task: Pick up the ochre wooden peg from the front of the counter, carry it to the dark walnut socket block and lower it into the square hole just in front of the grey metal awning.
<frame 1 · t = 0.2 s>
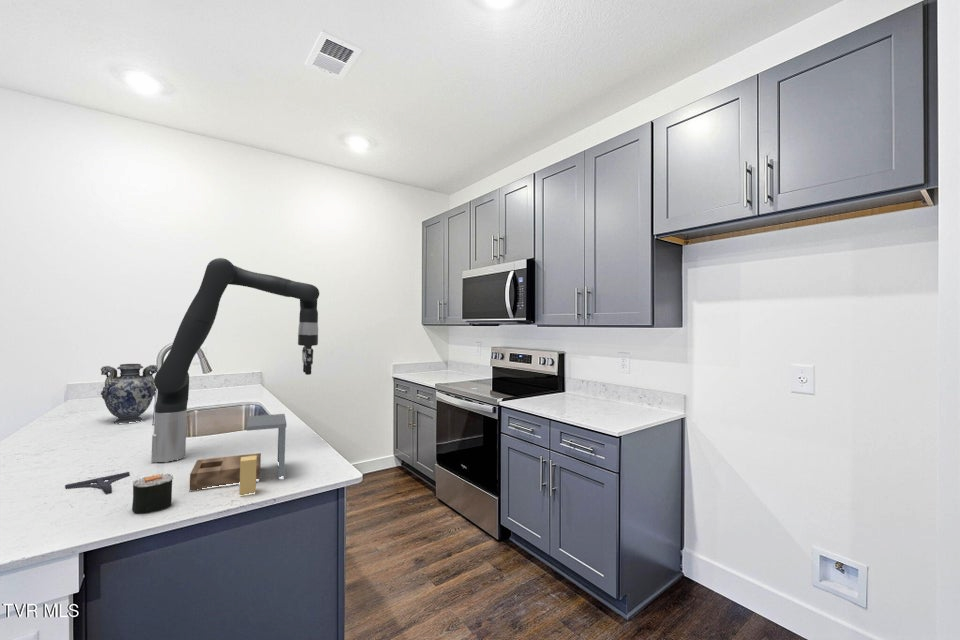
hand: (307, 373, 168), 29 cm above the counter, tool pointing down, fingers open, 8 cm apart
decorative vase: (128, 422, 200), on the counter
peg: (247, 493, 119), on the counter
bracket: (102, 490, 121), on the counter
awning: (263, 474, 134), on the counter
socket block: (227, 478, 130), on the counter
sushi: (152, 507, 109), on the counter
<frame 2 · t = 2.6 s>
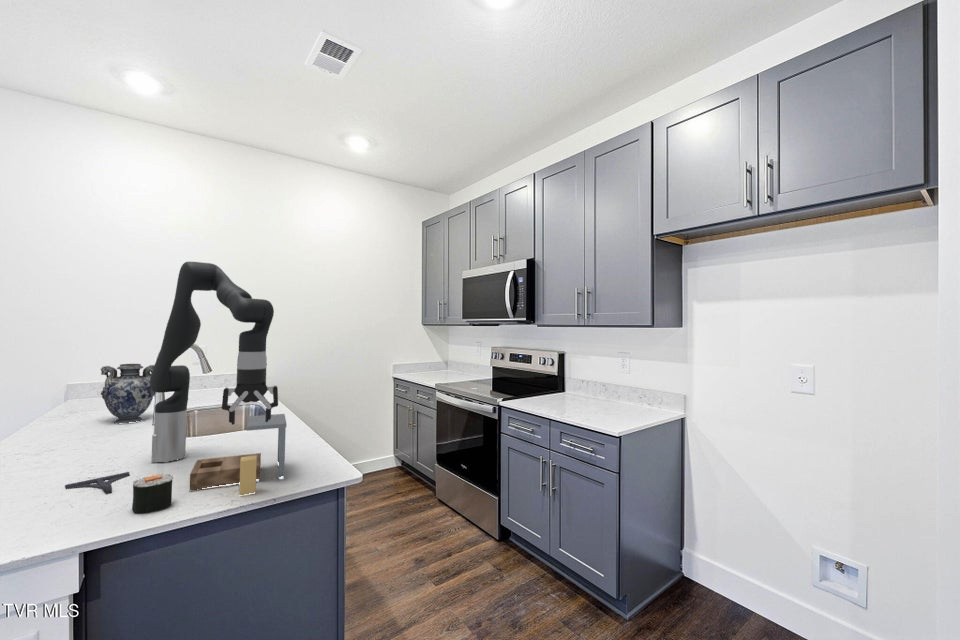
hand: (250, 422, 120), 20 cm above the counter, tool pointing down, fingers open, 8 cm apart
nothing on the counter moved.
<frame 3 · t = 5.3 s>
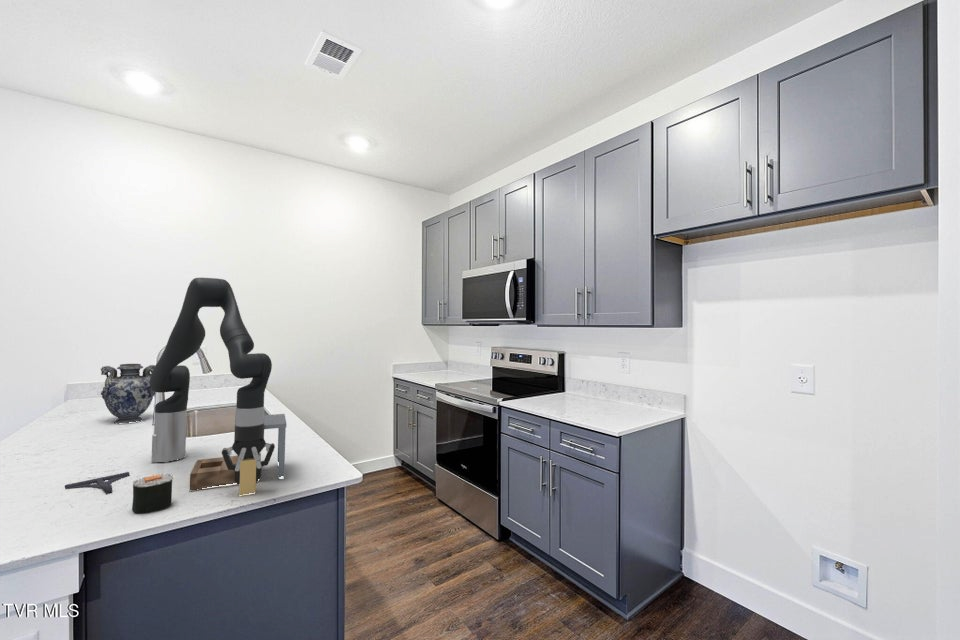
hand: (248, 481, 119), 3 cm above the counter, tool pointing down, fingers closed on peg, 4 cm apart
peg: (247, 492, 119), on the counter, touching gripper
everything else where it was.
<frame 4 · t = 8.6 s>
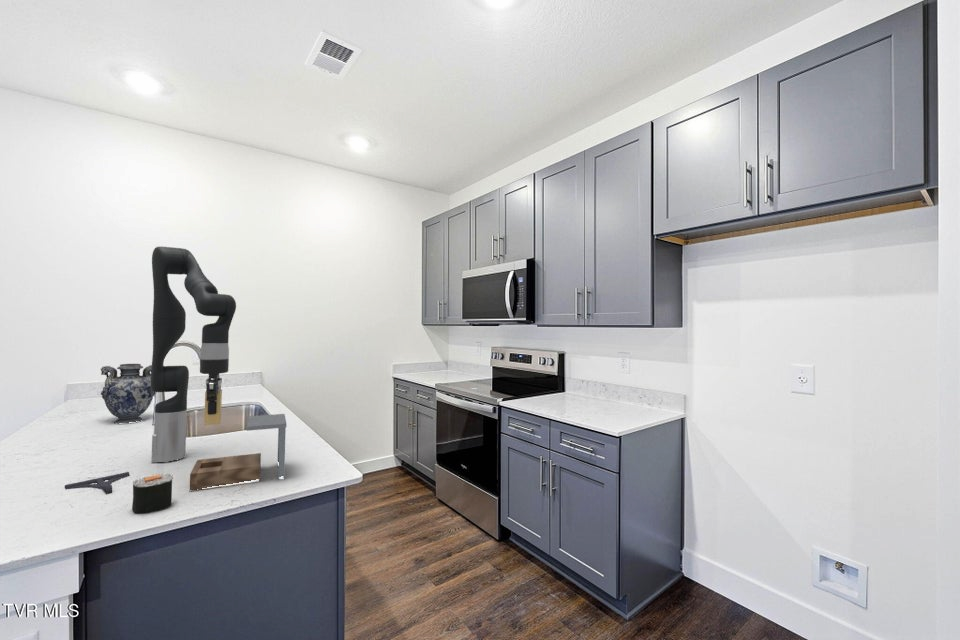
hand: (212, 412, 128), 21 cm above the counter, tool pointing down, fingers closed on peg, 4 cm apart
peg: (212, 423, 128), point 18 cm above the counter, touching gripper
everything else where it was.
when the fingers open (6 cm above the counter, at t = 12.3 s): peg drops 1 cm, resting on socket block.
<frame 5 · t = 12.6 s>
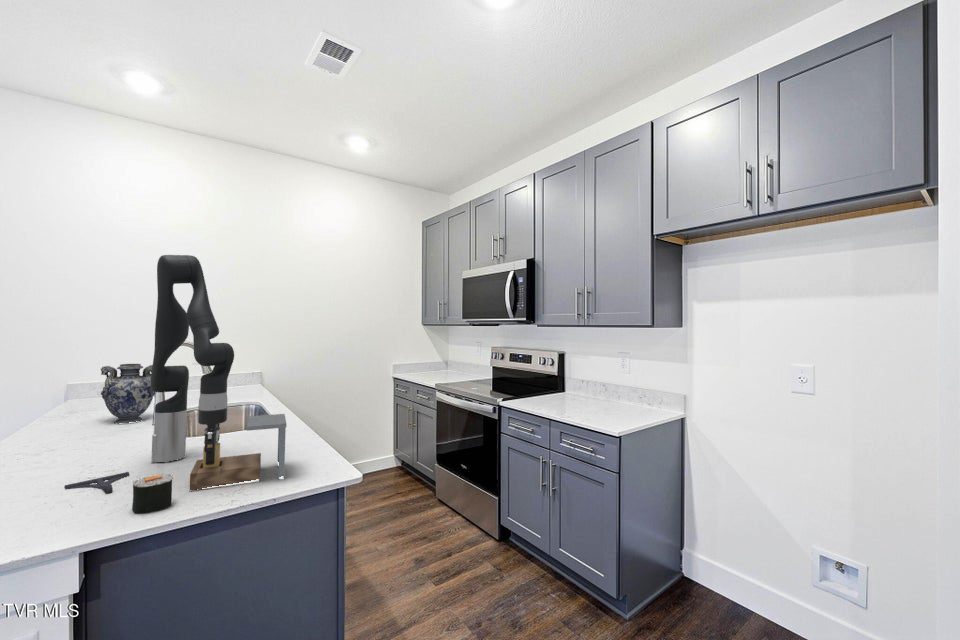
hand: (211, 460, 128), 6 cm above the counter, tool pointing down, fingers open, 6 cm apart
peg: (211, 477, 128), point 1 cm above the counter, touching socket block
everything else where it was.
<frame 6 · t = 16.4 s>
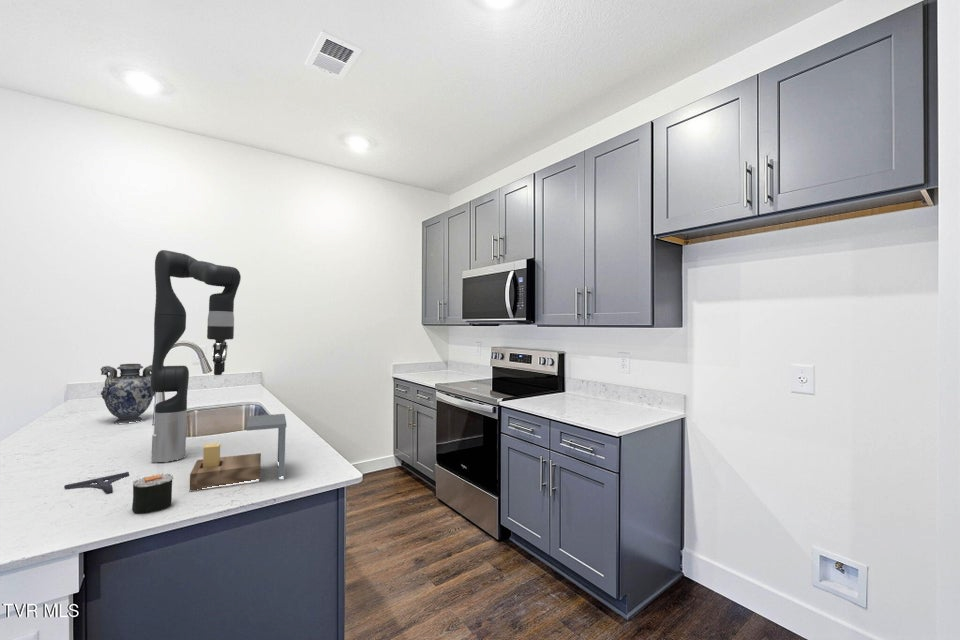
hand: (219, 373, 137), 32 cm above the counter, tool pointing down, fingers open, 8 cm apart
nothing on the counter moved.
at the end: peg 0.0 cm from the target spot on the socket block, point 1.0 cm above the socket block's base; peg tilted 0°; the gripper is holding nothing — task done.
